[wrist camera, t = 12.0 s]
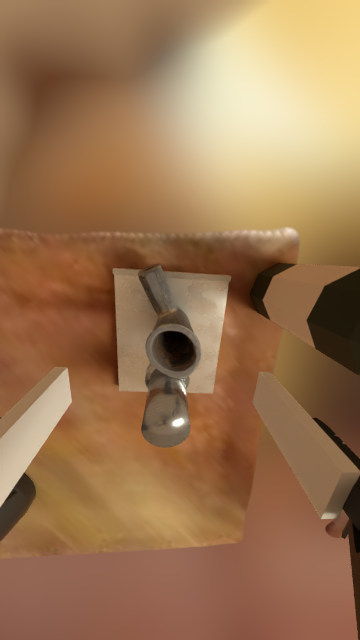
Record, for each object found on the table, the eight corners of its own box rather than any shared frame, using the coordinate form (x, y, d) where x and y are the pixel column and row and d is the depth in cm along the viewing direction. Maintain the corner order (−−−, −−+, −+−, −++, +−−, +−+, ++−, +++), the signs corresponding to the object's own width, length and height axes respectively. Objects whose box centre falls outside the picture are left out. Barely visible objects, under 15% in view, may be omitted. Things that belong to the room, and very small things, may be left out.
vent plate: (120, 389, 33) (97, 452, 22) (116, 267, 26) (79, 273, 16) (210, 391, 34) (229, 452, 23) (227, 274, 27) (263, 285, 17)
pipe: (170, 257, 24) (170, 263, 17) (200, 338, 29) (210, 370, 22) (128, 274, 25) (109, 287, 18) (164, 351, 30) (161, 386, 22)
